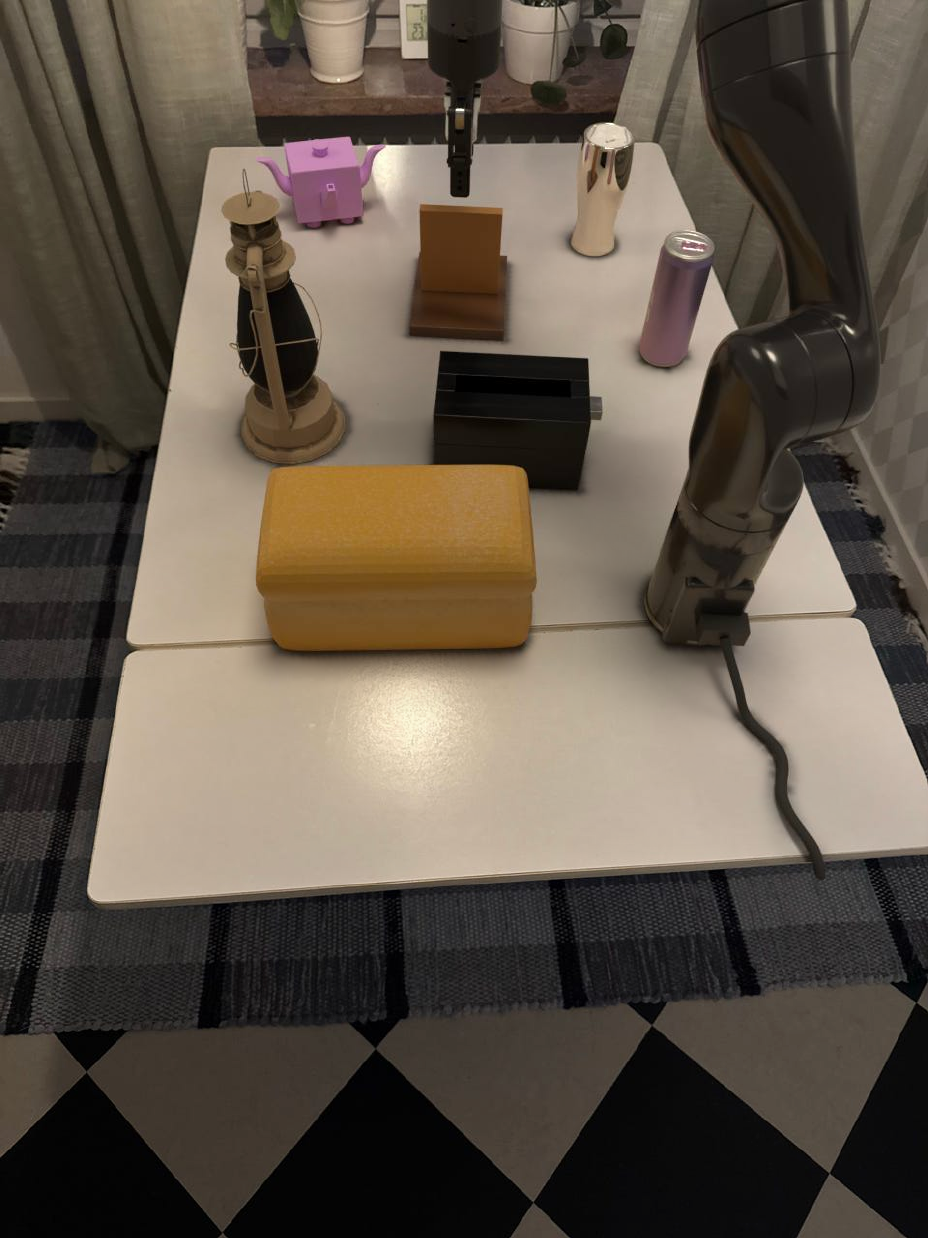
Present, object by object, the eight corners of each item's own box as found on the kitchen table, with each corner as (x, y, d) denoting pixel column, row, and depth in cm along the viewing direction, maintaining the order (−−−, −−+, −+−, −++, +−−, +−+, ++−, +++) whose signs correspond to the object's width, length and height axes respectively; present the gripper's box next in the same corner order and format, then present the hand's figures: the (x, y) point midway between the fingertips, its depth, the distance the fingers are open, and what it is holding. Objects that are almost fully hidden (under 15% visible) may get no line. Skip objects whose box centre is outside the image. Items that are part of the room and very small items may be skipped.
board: (503, 340, 109) (504, 330, 107) (409, 335, 109) (408, 325, 107) (506, 265, 117) (507, 255, 116) (419, 260, 118) (419, 250, 116)
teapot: (271, 248, 118) (258, 179, 110) (261, 197, 126) (248, 128, 117) (398, 233, 121) (395, 164, 113) (381, 183, 128) (377, 115, 120)
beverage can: (683, 372, 106) (715, 263, 93) (635, 365, 106) (660, 255, 94) (686, 342, 109) (717, 232, 97) (639, 335, 110) (664, 225, 97)
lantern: (245, 386, 103) (181, 128, 78) (344, 381, 104) (312, 125, 79) (238, 474, 95) (164, 219, 70) (345, 469, 96) (310, 214, 71)
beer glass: (559, 249, 120) (573, 140, 107) (579, 224, 123) (595, 116, 111) (605, 264, 118) (625, 154, 106) (624, 238, 121) (645, 129, 109)
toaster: (592, 491, 94) (606, 423, 86) (434, 482, 95) (433, 414, 86) (590, 427, 100) (603, 358, 92) (440, 419, 100) (440, 350, 92)
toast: (497, 294, 111) (502, 213, 102) (421, 290, 111) (419, 210, 102) (498, 287, 112) (502, 207, 103) (422, 284, 112) (420, 203, 103)
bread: (519, 546, 90) (531, 442, 77) (528, 650, 83) (543, 554, 70) (286, 549, 89) (260, 444, 77) (274, 654, 82) (244, 557, 69)
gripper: (432, -15, 90) (434, 142, 103) (421, 45, 82) (425, 208, 95) (503, -12, 90) (496, 145, 103) (499, 49, 82) (492, 211, 95)
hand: (461, 175), depth 99 cm, fingers open, 8 cm apart
